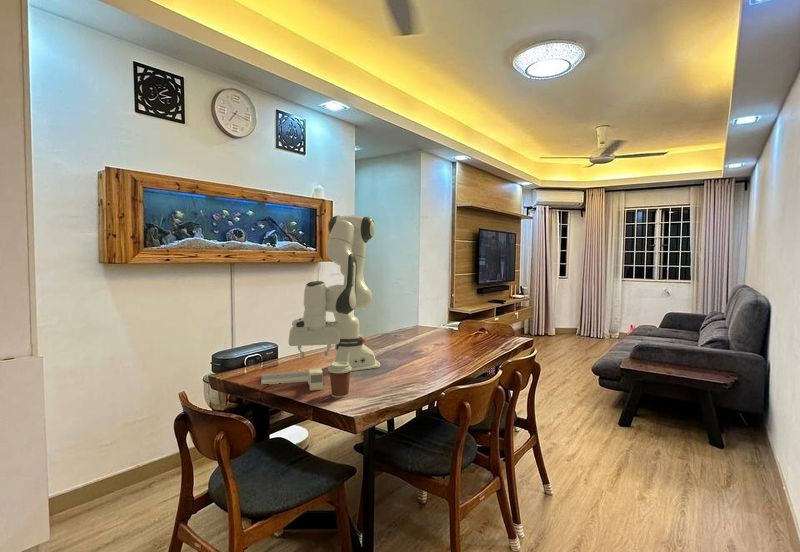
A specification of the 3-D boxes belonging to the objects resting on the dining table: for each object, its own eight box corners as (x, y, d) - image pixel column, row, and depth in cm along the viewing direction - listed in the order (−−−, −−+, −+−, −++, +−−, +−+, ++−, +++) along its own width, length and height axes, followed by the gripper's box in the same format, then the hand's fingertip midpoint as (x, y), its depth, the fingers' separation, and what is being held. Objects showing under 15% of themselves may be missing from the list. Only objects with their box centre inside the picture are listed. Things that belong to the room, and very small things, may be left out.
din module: (320, 382, 175) (320, 366, 174) (322, 389, 166) (322, 372, 165) (308, 383, 173) (308, 367, 173) (310, 390, 164) (309, 373, 164)
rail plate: (308, 373, 188) (308, 367, 188) (311, 381, 177) (311, 375, 177) (261, 377, 183) (261, 371, 182) (261, 385, 171) (261, 379, 171)
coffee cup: (335, 389, 165) (335, 359, 165) (356, 392, 162) (356, 362, 161) (323, 397, 157) (323, 365, 156) (344, 400, 154) (344, 367, 153)
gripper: (339, 320, 174) (338, 353, 175) (288, 321, 168) (288, 355, 168) (341, 322, 168) (341, 356, 168) (289, 323, 162) (288, 359, 162)
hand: (314, 356), depth 168 cm, fingers open, 8 cm apart
